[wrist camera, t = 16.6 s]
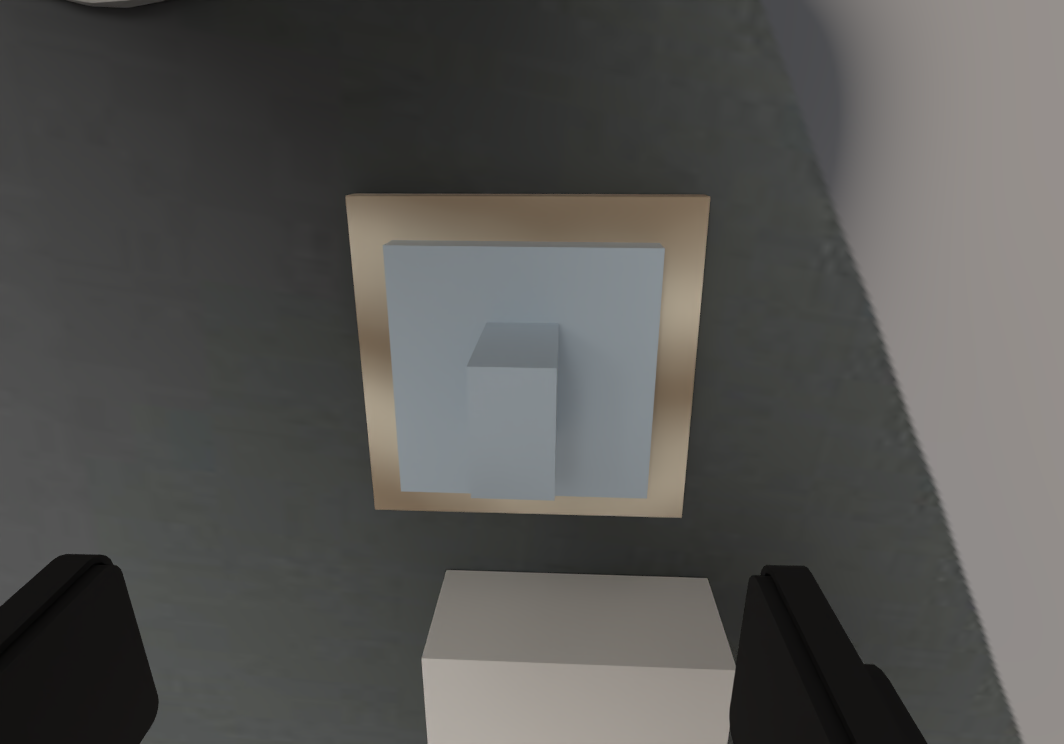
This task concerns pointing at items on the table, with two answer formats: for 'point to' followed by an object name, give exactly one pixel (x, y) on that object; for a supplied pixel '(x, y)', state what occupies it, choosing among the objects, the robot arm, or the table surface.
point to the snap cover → (524, 366)
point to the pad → (538, 220)
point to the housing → (576, 660)
